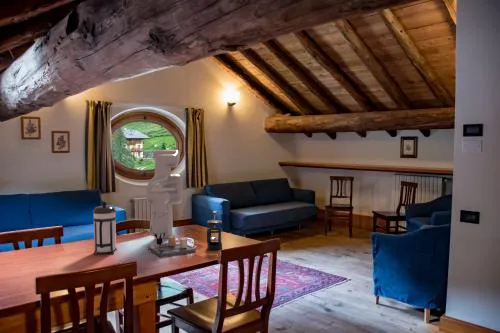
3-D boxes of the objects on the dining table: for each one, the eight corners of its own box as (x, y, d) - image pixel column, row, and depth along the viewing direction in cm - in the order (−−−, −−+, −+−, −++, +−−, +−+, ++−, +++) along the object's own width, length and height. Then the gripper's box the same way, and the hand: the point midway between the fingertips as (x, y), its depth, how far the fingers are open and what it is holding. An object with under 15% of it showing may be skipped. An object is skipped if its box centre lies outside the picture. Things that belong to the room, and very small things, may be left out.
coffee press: (85, 253, 250) (84, 202, 248) (110, 247, 262) (109, 199, 260) (100, 258, 238) (99, 205, 236) (125, 252, 250) (124, 202, 248)
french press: (226, 248, 259) (226, 211, 258) (214, 251, 252) (214, 213, 251) (213, 245, 267) (213, 209, 266) (202, 248, 261) (201, 211, 259)
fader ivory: (179, 246, 255) (179, 238, 255) (184, 246, 257) (184, 237, 256) (182, 248, 252) (182, 239, 251) (187, 247, 253) (187, 238, 253)
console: (147, 250, 257) (147, 245, 256) (181, 245, 269) (181, 240, 268) (160, 257, 240) (160, 252, 240) (195, 252, 252) (195, 247, 252)
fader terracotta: (168, 244, 259) (168, 236, 259) (172, 244, 261) (172, 235, 261) (170, 246, 256) (170, 237, 256) (175, 245, 258) (175, 237, 257)
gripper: (168, 212, 260) (168, 241, 261) (144, 214, 252) (145, 245, 253) (173, 213, 254) (173, 244, 255) (149, 216, 246) (149, 247, 247)
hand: (159, 244), depth 254 cm, fingers closed
